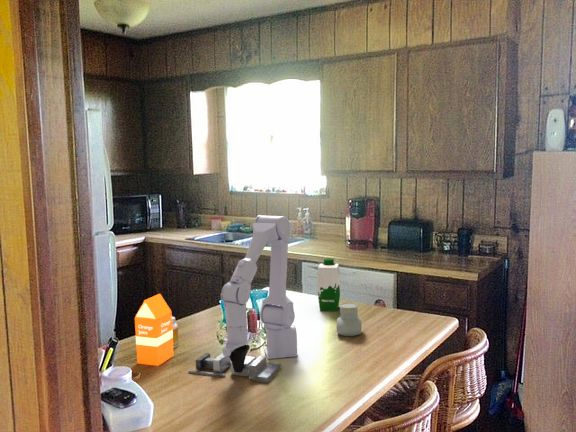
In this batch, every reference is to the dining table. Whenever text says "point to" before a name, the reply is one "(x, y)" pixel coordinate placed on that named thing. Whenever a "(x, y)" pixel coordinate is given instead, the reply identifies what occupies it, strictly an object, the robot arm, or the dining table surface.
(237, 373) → the steel block
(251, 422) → the dining table surface
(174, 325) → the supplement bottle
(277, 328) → the robot arm
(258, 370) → the vise base
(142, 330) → the orange juice
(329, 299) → the milk carton
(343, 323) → the air freshener
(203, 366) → the free jaw
